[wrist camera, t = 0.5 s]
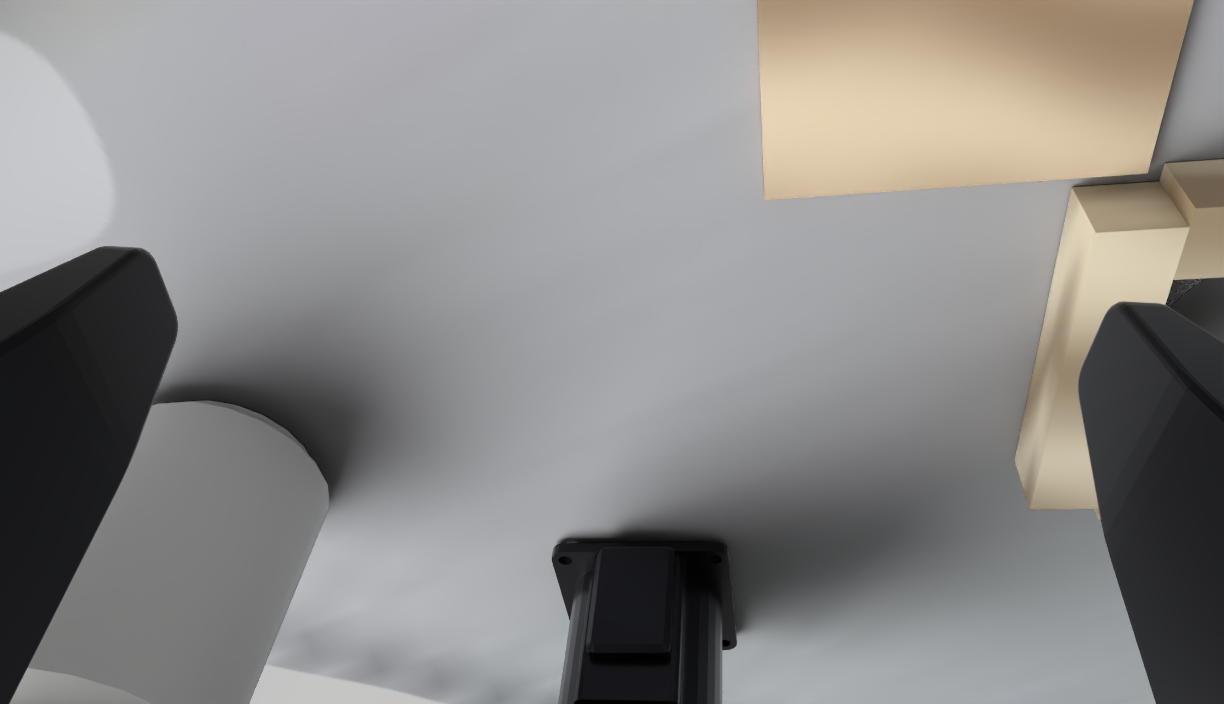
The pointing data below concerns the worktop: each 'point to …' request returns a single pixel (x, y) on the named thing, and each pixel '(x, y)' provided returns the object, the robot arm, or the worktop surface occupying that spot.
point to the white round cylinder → (1204, 306)
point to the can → (186, 566)
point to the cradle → (1109, 305)
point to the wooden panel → (960, 91)
